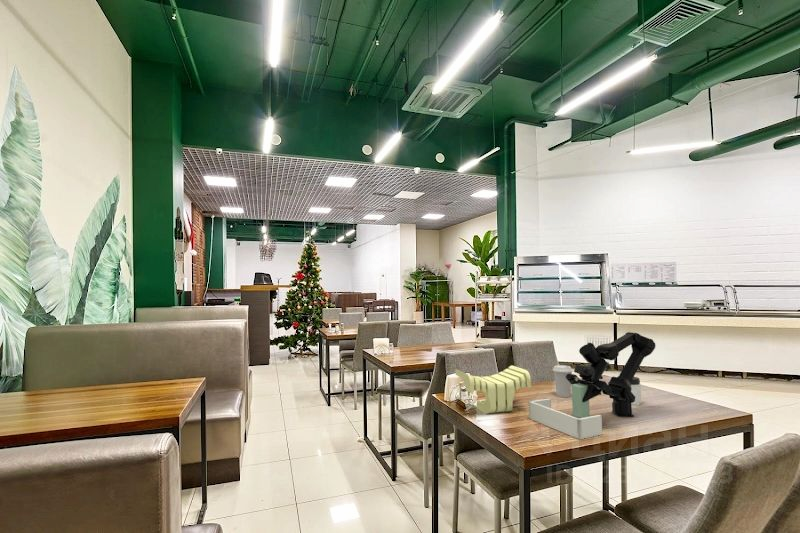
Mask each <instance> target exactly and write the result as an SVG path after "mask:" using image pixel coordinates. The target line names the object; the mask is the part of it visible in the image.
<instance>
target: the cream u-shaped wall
mask: <svg viewBox="0 0 800 533" xmlns="http://www.w3.org/2000/svg"><path fill="white" fill-rule="evenodd" d="M602 417H603V416H602V415H601V414H597V415H591V416H590V417H585V418H579V417H576V416H574V415H569V414H568V413H565V412H562V411H559V410H556V409H553V408H552V398H545V399H543V398H542V399H537V400H530V401H528V418H529V419H530V420H533V421H535V422H537V423H539V424H541V425H543V426H546V427H549V428H552V429H554V430H557V431H559V432H561V433H563V434H566V435H568V436H571V437H573V438H575V439H577V438H578V440H584V438H585V439H589V438H594V437H598V435H599V436H602V435H603V421H602V420H603V419H602ZM593 436H594V437H593Z"/></svg>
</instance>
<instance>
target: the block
mask: <svg viewBox="0 0 800 533" xmlns="http://www.w3.org/2000/svg"><path fill="white" fill-rule="evenodd" d="M587 390H588V386H587V385H584V384H580V383H578V384H572V385H571V402H572V403H571V404H572V416H573V417H576V418H579V419H580V418H585V417H590V415H591V414H590V412H591V411H590V410H591V409H590V399H589V400H588V401H586V402H583V401H582V399H583V397H584V395H585V393H586V391H587Z"/></svg>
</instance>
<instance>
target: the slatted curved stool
mask: <svg viewBox="0 0 800 533" xmlns="http://www.w3.org/2000/svg"><path fill="white" fill-rule="evenodd" d="M455 376H457V377H459V378H460V379H461V380H462V381H463V383H464V385H465V391H466V392H468V393H469V394H471V393H475V392H482V393H483V396H484V398H485V400H476V401H477V408H476V409H477V410H479V411H480V412H482V413H484V414H493V413H503V412H513V410H514V408H513V402H514V397H515V393H516V392H517V391H518V390H519V389H521V388H522V389H523V388H529V389H531V388H532V379H531V374H530V372H529V371H528V370H527V369H525V368H522V367H518V366H515V365H510V366H508V367H507V368H505V369H504V370H503V371H499V372H498V374H497V373H495V374H492V375H489V376H488V375H487V376H486V375H485V376H477V375H471V374H468V373H465V372H464V371H461V370H459V369H457V368H455ZM515 391H516V392H515Z"/></svg>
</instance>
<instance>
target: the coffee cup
mask: <svg viewBox="0 0 800 533" xmlns="http://www.w3.org/2000/svg"><path fill="white" fill-rule="evenodd" d="M552 371H553V377H554V382H555V384H554V385H555V391H556V392H555V393H556V396H557V397H559V398H565V399H566V397H567V398H571V395H572V389H571V383H570V382H569V381H568V380H567V379H566V378H565V377H566V376H567V374H569V373H570V374H573V373H574V370H573V369H572V367H571V366H569V365H565V364H563V365H562V364H558V365H557V364H556V365H554V367H553V368H552Z"/></svg>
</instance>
